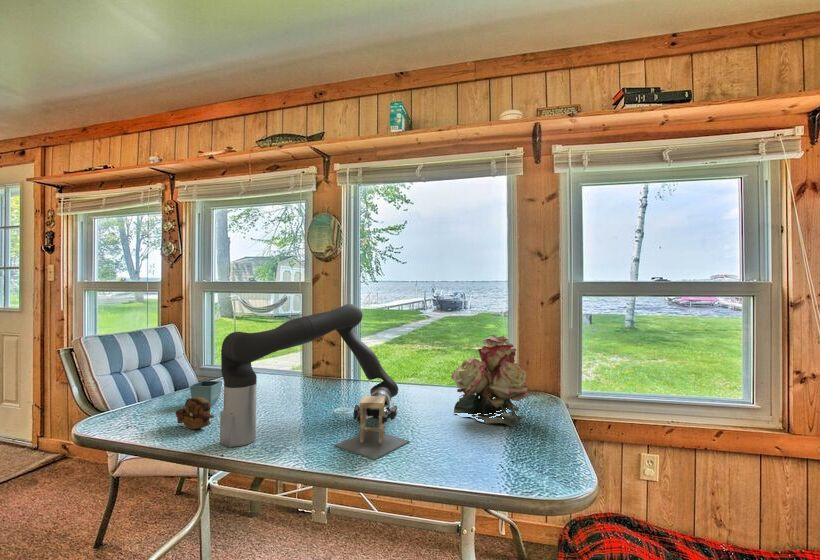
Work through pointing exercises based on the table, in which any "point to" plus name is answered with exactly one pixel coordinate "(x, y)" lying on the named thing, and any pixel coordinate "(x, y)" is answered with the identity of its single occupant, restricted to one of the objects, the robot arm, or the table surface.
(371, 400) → the pine stool
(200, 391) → the flower pot
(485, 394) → the rose bouquet
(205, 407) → the wooden carving
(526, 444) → the table surface
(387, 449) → the charcoal mat
